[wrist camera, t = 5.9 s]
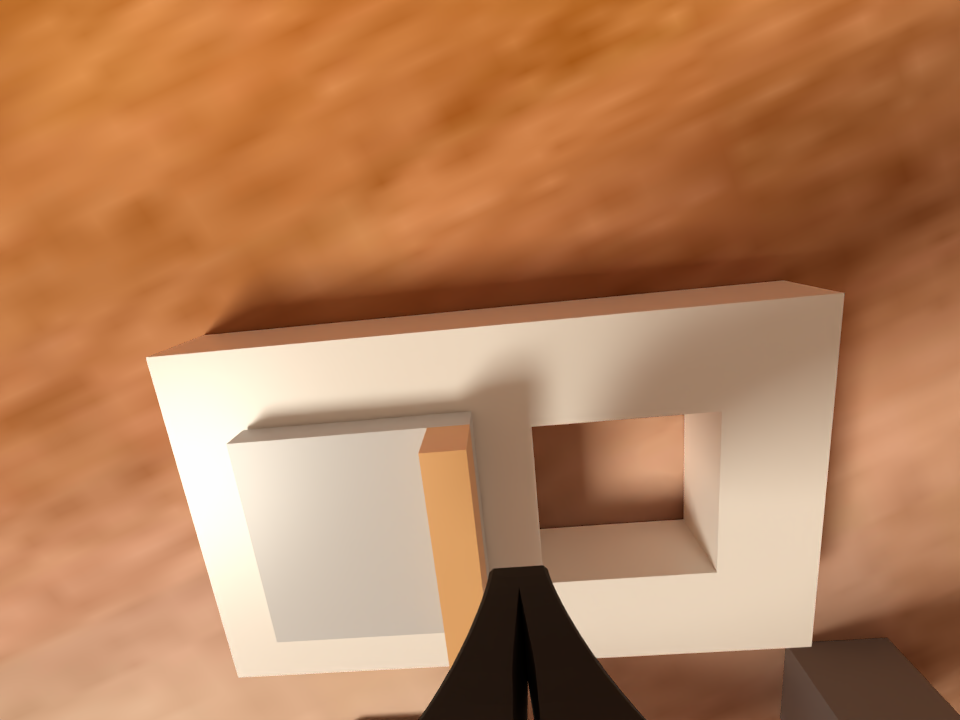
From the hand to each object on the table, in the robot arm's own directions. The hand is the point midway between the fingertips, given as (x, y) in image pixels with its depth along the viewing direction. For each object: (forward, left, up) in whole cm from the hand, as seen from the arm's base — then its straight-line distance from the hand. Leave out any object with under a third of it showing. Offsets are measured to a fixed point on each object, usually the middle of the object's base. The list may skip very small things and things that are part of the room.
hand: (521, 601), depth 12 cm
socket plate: (0, 0, -7) cm, 7 cm away
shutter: (0, +5, -4) cm, 6 cm away
